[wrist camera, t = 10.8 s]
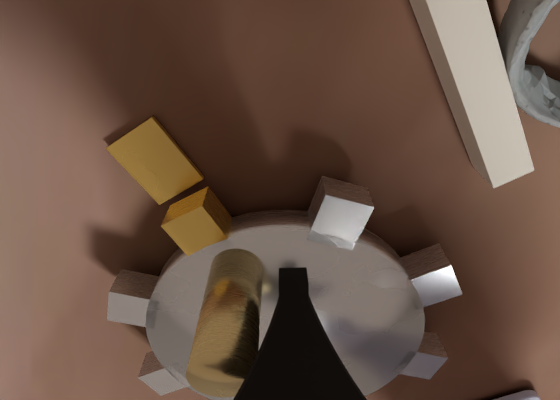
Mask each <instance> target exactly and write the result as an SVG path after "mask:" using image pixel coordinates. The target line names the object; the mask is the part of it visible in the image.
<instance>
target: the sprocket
mask: <svg viewBox="0 0 560 400" xmlns="http://www.w3.org/2000/svg"><path fill="white" fill-rule="evenodd" d="M373 209H374V205H373V202H372V199H371V197H370V194H369V192H368V189H367V187H363V186H359V185H355V184H352V183H348V182H344V181H340V180H337V179H333V178H329V177H325V176H322V177H321V179H320V182H319V184H318V187H317V189H316V192H315V194H314V197H313V199H312V202H311V204H310V207H309V209H308V211H302V210H267V211H260V212H253V213H248V214H244V215H240V216H236V217H231V216H230V214H229V213H228V212H227V210H226V209H225V208H224V206H223V205H222V204H221V202H220V201H219V200H218V198H217V197H216V196H215V194H214V193H213V192H212V190H211V189H210V188H209V186H208V187H206V188H204V189H202V190H200V191H198V192H196V193H194V194H192V195H190V196H188V197H186V198H184V199H182V200H180V201H178V202H176V203H174V204H172V205H170V207H169V209H168V211H167V213H166V215H165V218H164V220H163V222H162V224H161V227H162V228H163V229H164V230H165V231H166V232H167V234H168V235H169V236H170V237H171V238H172V239H173V240H174V241H175V243H176V244H177V245H178V246H179V248H178V249H177V250H176V251H175V252H174V253H173V254H172V255H171V257H170V258H169V260H168V261H167V262H166V264H165V265H164V267H163V269H162V271H161V273H160V275H159V276H154V275H149V274H144V273H139V272H134V271H130V270H125V269H121V270H120V272H119V274H118V275H117V277H116V279H115V281H114V283H113V285H112V287H111V289H110V291H109V299H108V314H107V320H109V321H115V322H120V323H126V324H131V325H137V326H142V327H146V332H147V338H148V341H149V343H150V346H151V349H152V351H151V352H149V353H146V356H145V359H144V362H143V365H142V367H141V370H140V373H139V376H138V378H139V379H140V380H142V381H143V382H144V383H145V384H147V385H148V386H149V387H151V388H152V389H153V390H154V391H156V392H157V393H158V394H160V395H164V394H167V393H170V392H173V391H176V390H179V389H182V388H185V387H188V388H189V389H191V390H193V391H195V392H196V393H198V394H200V395H202V396H205V397H207V398H209V399H211V400H233V399H234V397H235V396H236V394H237V392H238V390H239V388H240V387H241V385H242V383H243V381H244V379H245V377H246V375H247V374H248V372H249V370H250V368H251V366H252V364H253V362H254V360H255V357H256V355H257V353H258V351H259V349H260V346H261V344H262V342H263V339H264V337H265V334H266V332H267V330H268V327H269V325H270V322H271V319H272V316H273V313H274V310H275V307H276V304H277V301H278V297H279V286H278V285H279V268H298V267H306V268H307V275H308V283H309V296H310V299H311V302H312V304H313V306H314V309H315V311H316V313H317V315H318V318H319V320H320V322H321V324H322V326H323V328H324V330H325V332H326V334H327V336H328V338H329V340H330V342H331V343H332V345H333V347H334V349H335V351H336V352H337V354H338V356H339V358H340V359H341V361H342V363H343V364H344V366H345V368H346V369H347V371H348V372H349V374H350V375H351V377H352V379H353V380H354V382H355V383H356V385H357V386H358V388H359V389H360V391H361V392H362V393H363V395H364V396H367V395H369V394H371V393H373V392H375V391H377V390H378V389H380V388H382V387H383V386H385V385H386V384H388V383H389V382H391V381H392V380H393V379H394V378H395V377H396V376H398V375H399V374H402V375H407V376H413V377H418V378H424V379H429V380H430V379H431V378H432V376H433V375H434V374H435V373H436V372H437V371H438V370H439V368H440V367H441V366H442V365H443V364H444V363H445V362H446V360H447V359H448V356H447V354H446V351H445V349H444V347H443V344H442V342H441V340H440V337H439V335H438V334H435V333H431V332H426V331H424V328H425V315H424V307H427V306H430V305H433V304H436V303H439V302H441V301H444V300H447V299H450V298H453V297H456V296H459V295H462V291H461V289H460V286H459V284H458V281H457V278H456V276H455V273H454V271H453V268H452V266H451V264H450V262H449V260H448V259H447V257H446V255H445V253H444V252H443V250H442V248H441V246H440V245H439V243H438V244H435V245H432V246H430V247H427V248H425V249H422V250H419V251H417V252H414V253H411V254H409V255H406V256H403V257H400V256H399V255H398V254H397V253H396V252H395V250H394V249H393V248H392V247H391V246H390V245H388V244H387V243H386V242H385V241H384V240H382V239H381V238H380V237H379V236H377V235H375V234H374V233H372V232H371V231H369V230H367V229H366V228H364V227H365V225H366V223H367V221H368V219H369V217H370V215H371V213H372V211H373Z"/></svg>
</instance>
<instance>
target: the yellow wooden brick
mask: <svg viewBox="0 0 560 400" xmlns="http://www.w3.org/2000/svg"><path fill="white" fill-rule="evenodd" d="M106 149H107V150H108V151H109V152H110V154H111V155H112V156H113V157H114V158H115V159H116V160H117V161H118V162H119V163H120V164H121V165H122V166H123V167H124V168H125V169H126V170H127V171H128V172H129V174H130V175H131V176H132V177H133V178H134V179H135V180H136V181H137V182H138V183H139V184H140V185H141V186H142V187H143V188H144V189H145V190H146V191H147V192H148V194H149V195H150V196H151V197H152V198H153V199H154V200H155V201H156V202H157V203H158V204H159V205H160V204H162V203H164V202H165V201H167V200H169V199H170V198H172V197H174V196H176V195H177V194H179V193H181V192H183V191H184V190H186V189H188V188H189V187H191V186H193V185H195V184H196V183H198V182H200V181H201V180H203V179H204V175H203V174H202V173H201V172H200V171H199V169H198V168H197V167H196V166H195V165H194V163H193V162H192V161H191V160H190V159H189V157H188V156H187V155H186V154H185V153H184V151H183V150H182V149H181V148H180V147H179V145H178V144H177V143H176V142H175V141H174V139H173V138H172V137H171V136H170V135H169V133H168V132H167V131H166V130H165V128H164V127H163V126H162V125H161V124H160V122H159V121H158V120H157V119H156V118H155V116H154V115H153V116H152V117H150V118H149V119H147V120H146V121H144V122H143V123H141V124H140V125H138V126H137V127H135V128H134V129H132V130H131V131H129V132H128V133H126V134H125V135H123V136H122V137H120V138H119V139H118V140H116V141H115V142H113V143H112V144H110V145H109V146H107V148H106Z"/></svg>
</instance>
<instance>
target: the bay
mask: <svg viewBox="0 0 560 400" xmlns="http://www.w3.org/2000/svg"><path fill="white" fill-rule="evenodd" d="M409 1H410V4H411V6H412V9H413V12H414V14H415V17H416V20H417V22H418V25H419V27H420V30H421V33H422V35H423V38H424V41H425V43H426V46H427V48H428V51H429V54H430V56H431V59H432V62H433V64H434V67H435V69H436V72H437V75H438V77H439V80H440V83H441V85H442V88H443V90H444V93H445V96H446V98H447V101H448V104H449V106H450V109H451V111H452V114H453V117H454V119H455V122H456V125H457V127H458V130H459V132H460V135H461V138H462V140H463V143H464V146H465V148H466V151H467V153H468V156H469V159H470V161H471V164H472V166H473V167H474V168H475V169H476V171H477V172H478V173H479V174H480V175H481V176H482V177H483V178H484V179H485V180H486V181H487V182H488V183H489V184H490V185H491V186H492V187H493V188H496V187H498V186H501V185H503V184H505V183H507V182H510V181H512V180H514V179H516V178H518V177H521V176H523V175H525V174H527V173H530V172H532V171H534V167H533V164H532V160H531V156H530V153H529V149H528V146H527V142H526V139H525V135H524V132H523V128H522V125H521V121H520V117H519V114H518V110H517V107H516V103H515V100H514V96H513V93H512V89H511V86H510V82H509V78H508V75H507V71H506V68H505V64H504V61H503V57H502V54H501V50H500V47H499V43H498V40H497V36H496V32H495V29H494V25H493V22H492V18H491V15H490V11H489V8H488V4H487V1H486V0H409Z"/></svg>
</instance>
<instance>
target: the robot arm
mask: <svg viewBox="0 0 560 400" xmlns="http://www.w3.org/2000/svg"><path fill="white" fill-rule="evenodd" d="M278 286H279V297H278V301H277V304H276V307H275V310H274V313H273V316H272V319H271V322H270V325H269V327H268V330H267V332H266V334H265V337H264V339H263V342H262V344H261V346H260V349H259V351H258V353H257V355H256V357H255V360H254V362H253V364H252V366H251V368H250V370H249V372H248V374H247V375H246V377H245V379H244V381H243V383H242V385H241V387H240V388H239V390H238V392H237V394H236V396H235V397H234V399H233V400H367V399H366V398H365V396H364V395H363V393H362V392H361V391H360V389H359V388H358V386H357V385H356V383H355V382H354V380H353V379H352V377H351V375H350V374H349V372H348V371H347V369H346V368H345V366H344V364H343V363H342V361H341V359H340V358H339V356H338V354H337V352H336V351H335V349H334V347H333V345H332V343H331V342H330V340H329V338H328V336H327V334H326V332H325V330H324V328H323V326H322V324H321V322H320V320H319V318H318V315H317V313H316V311H315V309H314V306H313V304H312V302H311V299H310V296H309V283H308V275H307V268H306V267H298V268H279V285H278ZM493 400H540V398H539V396H538V394H537V393H536V392H535V391H533V390H525V391H521V392H518V393H514V394H511V395H507V396H504V397H500V398H497V399H493Z"/></svg>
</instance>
